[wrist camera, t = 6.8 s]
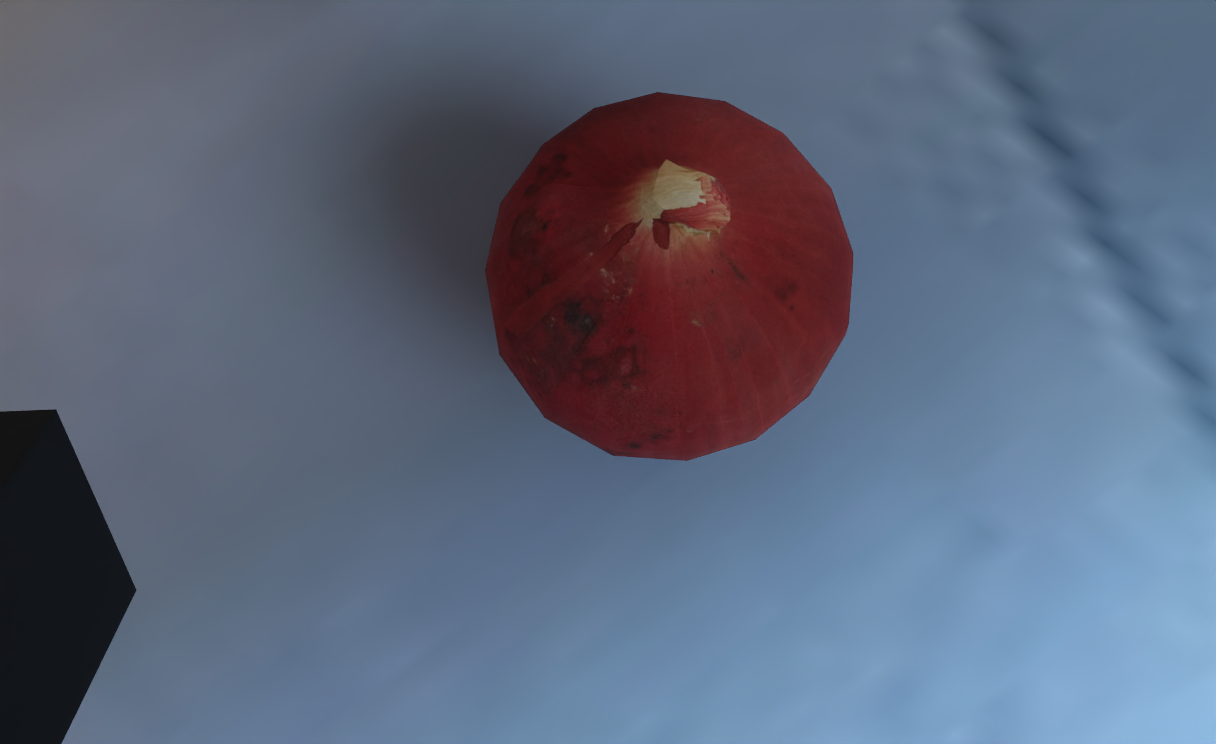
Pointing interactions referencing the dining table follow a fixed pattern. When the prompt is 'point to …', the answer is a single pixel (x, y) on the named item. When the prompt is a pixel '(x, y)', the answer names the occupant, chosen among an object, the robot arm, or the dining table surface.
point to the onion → (669, 277)
